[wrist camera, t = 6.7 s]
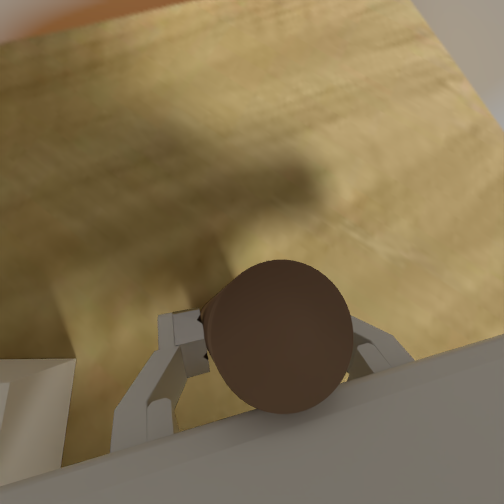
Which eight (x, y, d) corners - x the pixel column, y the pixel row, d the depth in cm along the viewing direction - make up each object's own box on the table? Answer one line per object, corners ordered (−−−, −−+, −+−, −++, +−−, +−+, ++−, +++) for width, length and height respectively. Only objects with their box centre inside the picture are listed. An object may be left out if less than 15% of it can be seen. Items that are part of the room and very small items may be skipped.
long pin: (249, 349, 18) (357, 410, 6) (196, 350, 17) (207, 418, 6) (250, 296, 18) (349, 263, 7) (199, 295, 18) (214, 255, 6)
